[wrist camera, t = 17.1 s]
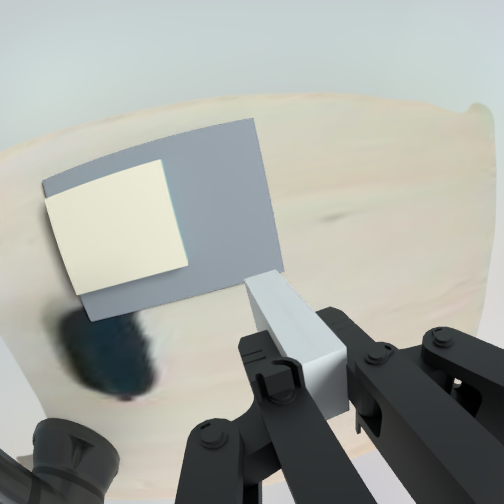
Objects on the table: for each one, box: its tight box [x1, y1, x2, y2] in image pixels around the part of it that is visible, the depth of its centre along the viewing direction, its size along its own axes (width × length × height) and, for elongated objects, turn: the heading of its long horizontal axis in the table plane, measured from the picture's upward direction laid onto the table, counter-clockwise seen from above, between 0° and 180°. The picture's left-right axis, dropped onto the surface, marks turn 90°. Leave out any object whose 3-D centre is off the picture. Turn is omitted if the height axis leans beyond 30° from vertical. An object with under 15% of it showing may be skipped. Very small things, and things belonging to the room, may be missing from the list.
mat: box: [43, 118, 284, 322], centre depth 28 cm, size 22×16×1 cm
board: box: [44, 159, 188, 295], centre depth 26 cm, size 2×10×12 cm
